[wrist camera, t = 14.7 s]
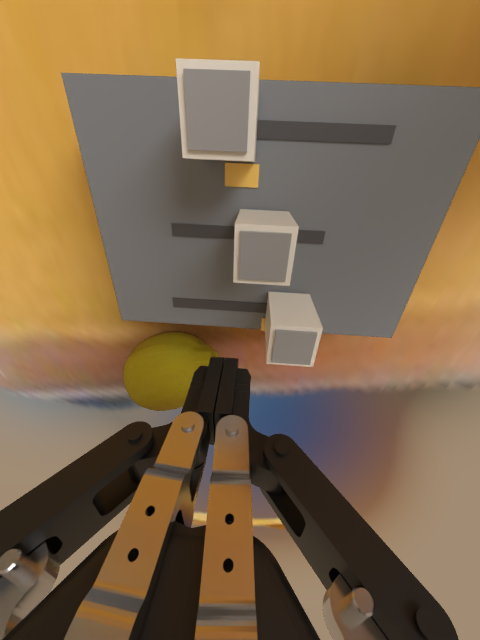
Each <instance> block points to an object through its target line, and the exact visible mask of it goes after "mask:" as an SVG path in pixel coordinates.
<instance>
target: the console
mask: <svg viewBox="0 0 480 640" xmlns="http://www.w3.org/2000/svg"><path fill="white" fill-rule="evenodd" d="M61 74H62V78H63V83H64V87H65V91H66V95H67V99H68V103H69V107H70V111H71V115H72V119H73V123H74V127H75V131H76V135H77V139H78V143H79V147H80V151H81V155H82V160H83V164H84V168H85V172H86V176H87V180H88V184H89V188H90V192H91V196H92V200H93V204H94V208H95V212H96V216H97V220H98V224H99V228H100V233H101V237H102V241H103V245H104V249H105V253H106V257H107V261H108V265H109V269H110V273H111V277H112V281H113V285H114V289H115V293H116V297H117V301H118V305H119V310H120V314H121V318H122V320H129V321H144V322H159V323H174V324H190V325H205V326H220V327H235V328H250V329H261V331H265V319H266V309H267V300H268V291H269V292H285V293H302V294H310V296H311V299H312V302H313V304H314V307H315V309H316V312H317V314H318V317H319V319H320V322H321V324H322V327H323V330H322V333H326V334H341V335H356V336H371V337H386V338H392V336H393V334H394V332H395V329H396V327H397V325H398V323H399V320H400V318H401V316H402V313H403V311H404V309H405V307H406V304H407V302H408V300H409V298H410V295H411V293H412V291H413V288H414V286H415V284H416V282H417V279H418V277H419V275H420V273H421V270H422V268H423V266H424V263H425V261H426V259H427V257H428V254H429V252H430V250H431V248H432V245H433V243H434V241H435V238H436V236H437V234H438V232H439V229H440V227H441V225H442V223H443V220H444V218H445V216H446V213H447V211H448V209H449V207H450V204H451V202H452V200H453V198H454V195H455V193H456V191H457V188H458V186H459V184H460V182H461V179H462V177H463V175H464V173H465V170H466V168H467V166H468V163H469V161H470V159H471V157H472V154H473V152H474V150H475V148H476V145H477V143H478V141H479V139H480V87H456V86H427V85H398V84H369V83H340V82H311V81H282V80H259V103H258V120H257V137H256V154H255V162H244V161H222V160H201V159H187V158H183V157H182V142H181V128H180V114H179V99H178V85H177V77H167V76H138V75H109V74H80V73H61ZM240 209H252V210H272V211H289V212H290V214H291V215H292V217H293V219H294V220H295V222H296V223H297V225H298V226H299V229H298V236H297V242H296V249H295V255H294V262H293V268H292V274H291V281H290V286H282V285H265V284H249V283H233V272H234V234H235V222H236V219H237V216H238V214H239V211H240Z"/></svg>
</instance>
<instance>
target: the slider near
mask: <svg viewBox="0 0 480 640" xmlns="http://www.w3.org/2000/svg"><path fill="white" fill-rule="evenodd" d="M259 66H260V61H237V60H206V59H176V70H177V85H178V99H179V114H180V128H181V142H182V157H183V158H187V159H201V160H222V161H244V162H255V154H256V137H257V120H258V103H259Z"/></svg>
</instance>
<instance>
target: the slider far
mask: <svg viewBox="0 0 480 640" xmlns="http://www.w3.org/2000/svg"><path fill="white" fill-rule="evenodd" d="M322 330H323V327H322V324H321V322H320V319H319V317H318V314H317V312H316V309H315V307H314V304H313V302H312V299H311V296H310V294H302V293H285V292H269V291H268V300H267V309H266V319H265V345H266V364H279V365H293V366H307V367H313V365H314V361H315V357H316V353H317V349H318V346H319V342H320V338H321V334H322Z"/></svg>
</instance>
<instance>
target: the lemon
mask: <svg viewBox="0 0 480 640" xmlns="http://www.w3.org/2000/svg"><path fill="white" fill-rule="evenodd" d="M211 357H219V355H218V352H217V351H215V350H214V349H213V348H212V347H210V346H208V345H206V344H205V343H204V342H203V341H202V340H201V339H199V338H197V337H196V336H194V335H191V334H188V333H183V332H166V333H161V334H157V335H154V336H152V337H150V338H148V339H146V340H144V341H143V342H141V343H140V344H139V345H138V346H137V347H136V348H135V349H134V350H133V351H132V353H131V354H130V355H129V357H128V359H127V360H126V362H125V365H124V384H125V388H126V390H127V392H128V394H129V396H130V398H131V399H132V400H133V401H134V402H135V403H137V404H138V405H140V406H142V407H144V408H147V409H151V410H156V411H164V410H170V409H176V408H180V407H183V406H184V403H185V400H186V396H187V393H188V390H189V388H190V384H191V381H192V378H193V375H194V372H195V371H196V370H197V369H198V368H199V367H200V366H208V365H209V361H210V358H211Z"/></svg>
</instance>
